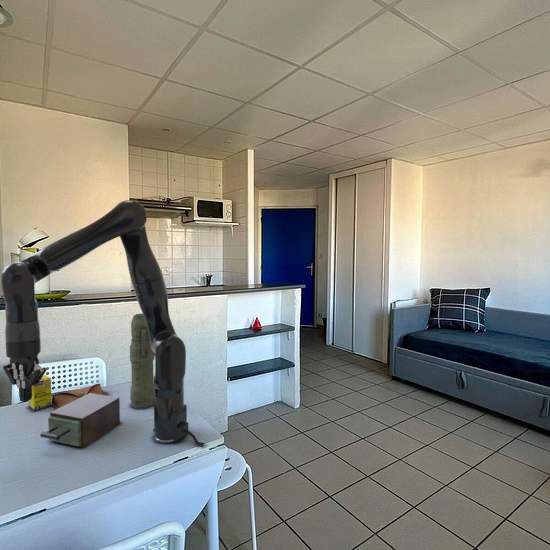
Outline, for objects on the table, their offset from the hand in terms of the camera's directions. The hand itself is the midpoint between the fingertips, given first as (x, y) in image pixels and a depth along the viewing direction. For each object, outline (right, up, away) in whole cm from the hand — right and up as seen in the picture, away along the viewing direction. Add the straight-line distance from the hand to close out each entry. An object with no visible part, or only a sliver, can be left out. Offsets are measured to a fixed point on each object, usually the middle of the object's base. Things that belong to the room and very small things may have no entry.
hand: (25, 400), depth 94 cm
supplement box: (-22, -16, +38) cm, 47 cm away
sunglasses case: (-10, -16, +44) cm, 48 cm away
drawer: (+4, -17, +16) cm, 24 cm away
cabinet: (+6, -18, +20) cm, 28 cm away
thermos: (+16, -16, +41) cm, 47 cm away
